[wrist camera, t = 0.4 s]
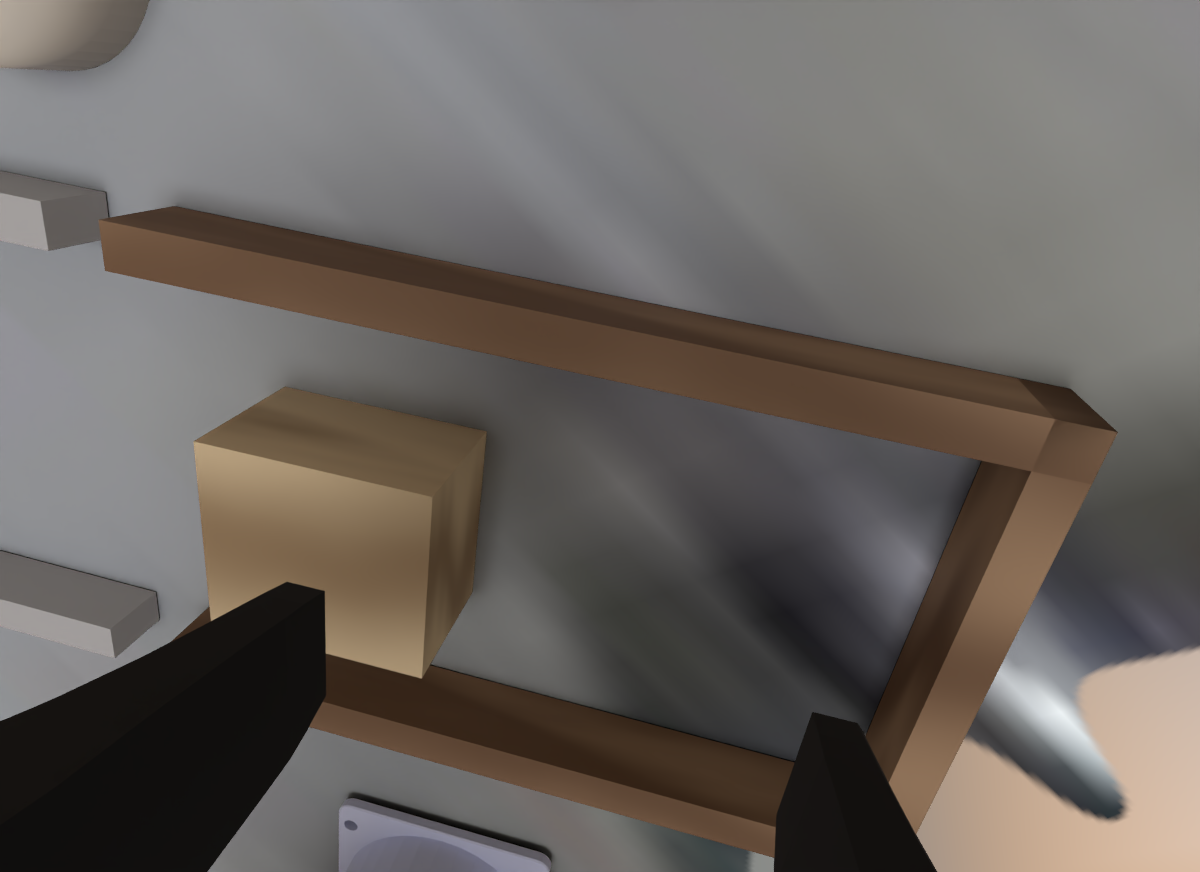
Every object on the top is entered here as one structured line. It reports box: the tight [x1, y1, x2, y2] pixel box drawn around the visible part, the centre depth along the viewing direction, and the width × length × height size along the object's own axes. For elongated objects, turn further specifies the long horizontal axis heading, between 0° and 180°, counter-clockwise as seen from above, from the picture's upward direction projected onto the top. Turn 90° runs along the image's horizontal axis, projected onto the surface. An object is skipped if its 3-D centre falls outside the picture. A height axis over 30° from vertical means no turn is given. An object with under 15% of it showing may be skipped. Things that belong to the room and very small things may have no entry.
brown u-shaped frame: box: [98, 206, 1118, 858], centre depth 20 cm, size 14×23×2 cm, turn 81°
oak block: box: [194, 387, 487, 678], centre depth 20 cm, size 6×6×4 cm
